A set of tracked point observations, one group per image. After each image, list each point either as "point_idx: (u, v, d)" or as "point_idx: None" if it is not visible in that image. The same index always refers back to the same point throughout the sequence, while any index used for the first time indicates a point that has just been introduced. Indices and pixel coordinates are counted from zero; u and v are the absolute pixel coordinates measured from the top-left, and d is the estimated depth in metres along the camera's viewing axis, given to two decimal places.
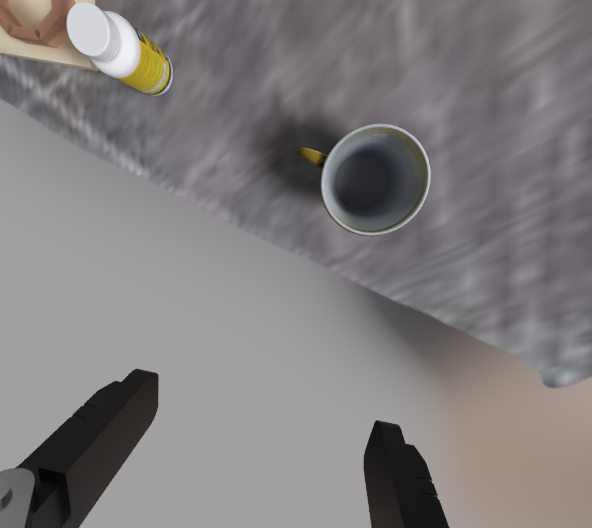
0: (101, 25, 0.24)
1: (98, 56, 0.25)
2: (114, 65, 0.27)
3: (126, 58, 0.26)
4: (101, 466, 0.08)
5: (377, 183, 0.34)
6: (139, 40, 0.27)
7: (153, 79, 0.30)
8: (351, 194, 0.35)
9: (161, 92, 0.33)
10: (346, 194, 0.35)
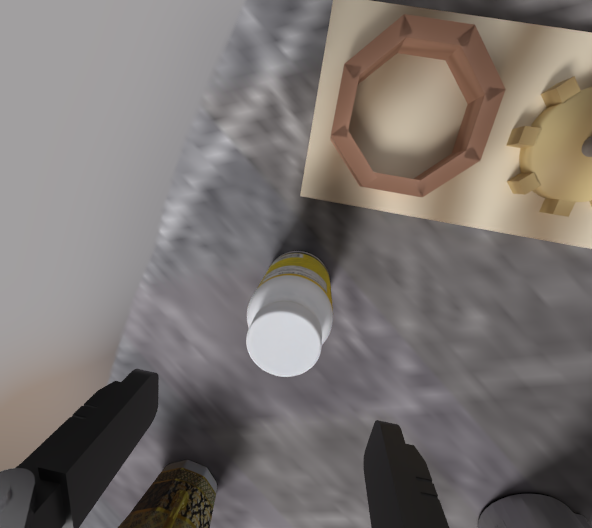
0: (287, 368, 0.15)
1: (248, 345, 0.15)
2: None
3: None
4: (102, 465, 0.08)
5: None
6: None
7: None
8: None
9: None
10: None
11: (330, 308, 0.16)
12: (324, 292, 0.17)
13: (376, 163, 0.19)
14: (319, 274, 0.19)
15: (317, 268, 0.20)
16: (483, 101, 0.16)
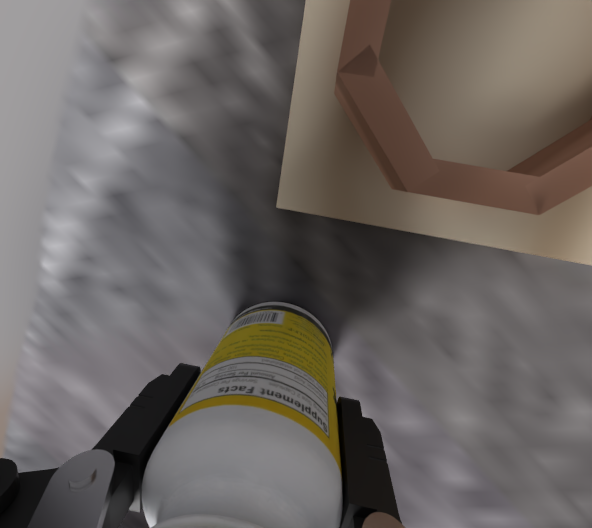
0: None
1: None
2: None
3: None
4: None
5: None
6: None
7: None
8: None
9: None
10: None
11: (337, 488, 0.07)
12: (323, 443, 0.07)
13: (427, 142, 0.09)
14: (312, 371, 0.09)
15: (309, 351, 0.10)
16: None
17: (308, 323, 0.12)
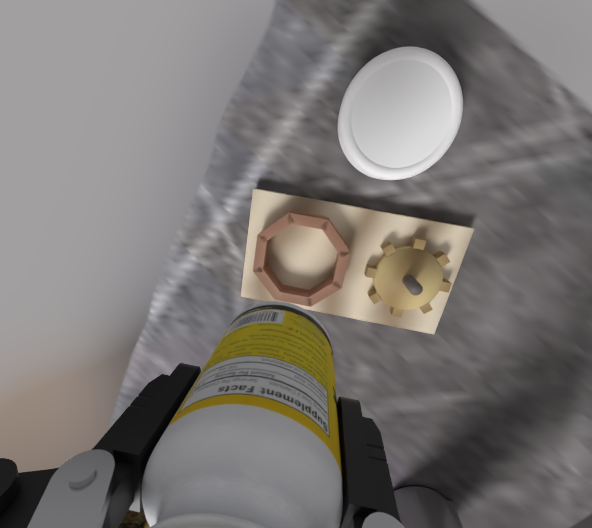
0: None
1: None
2: None
3: None
4: None
5: None
6: None
7: None
8: None
9: None
10: None
11: (338, 487, 0.07)
12: (323, 443, 0.07)
13: (287, 279, 0.30)
14: (313, 370, 0.09)
15: (309, 350, 0.10)
16: (339, 257, 0.27)
17: (308, 322, 0.12)
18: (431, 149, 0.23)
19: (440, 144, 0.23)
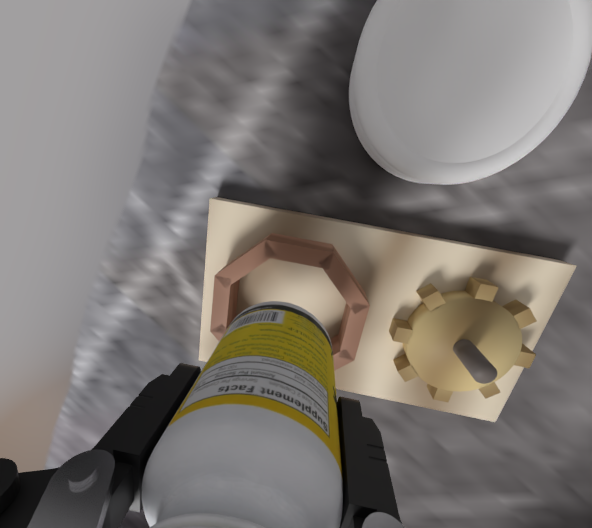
0: None
1: None
2: None
3: None
4: None
5: None
6: None
7: None
8: None
9: None
10: None
11: (338, 487, 0.07)
12: (323, 442, 0.07)
13: None
14: (313, 370, 0.09)
15: (309, 350, 0.10)
16: (350, 313, 0.16)
17: (308, 322, 0.12)
18: (524, 128, 0.12)
19: (543, 118, 0.12)
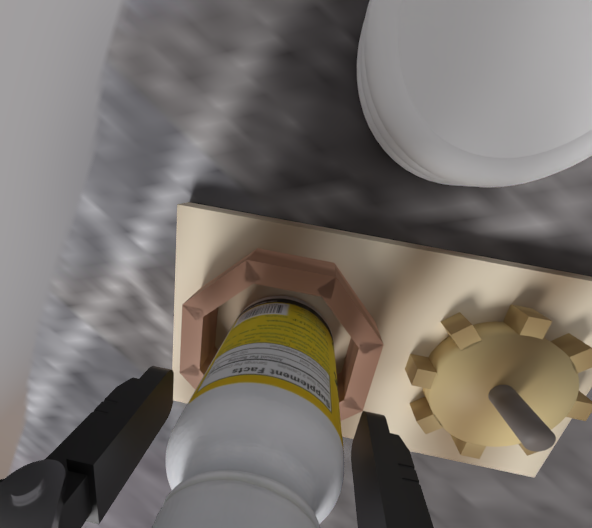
0: None
1: None
2: None
3: None
4: (123, 459, 0.08)
5: None
6: None
7: None
8: None
9: None
10: None
11: (339, 455, 0.08)
12: (326, 416, 0.08)
13: None
14: (316, 356, 0.10)
15: (312, 338, 0.11)
16: (358, 353, 0.12)
17: (311, 315, 0.13)
18: None
19: None
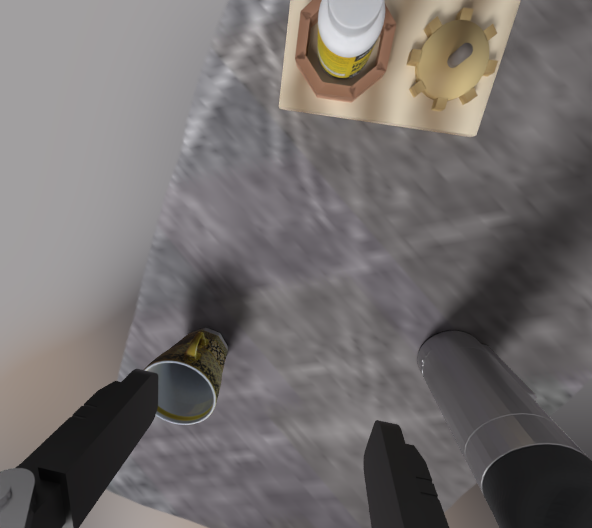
0: (358, 17, 0.20)
1: (328, 4, 0.20)
2: (326, 20, 0.22)
3: (333, 39, 0.22)
4: (101, 466, 0.08)
5: None
6: (355, 57, 0.23)
7: (325, 61, 0.26)
8: None
9: (319, 62, 0.28)
10: None
11: None
12: None
13: (326, 80, 0.30)
14: None
15: None
16: (384, 32, 0.26)
17: None
18: None
19: None
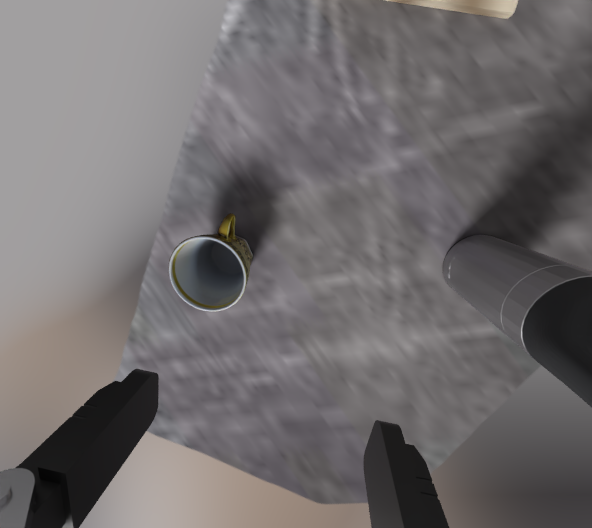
0: None
1: None
2: None
3: None
4: (102, 465, 0.08)
5: (230, 267, 0.44)
6: None
7: None
8: (220, 248, 0.43)
9: None
10: (220, 244, 0.43)
11: None
12: None
13: None
14: None
15: None
16: None
17: None
18: None
19: None
